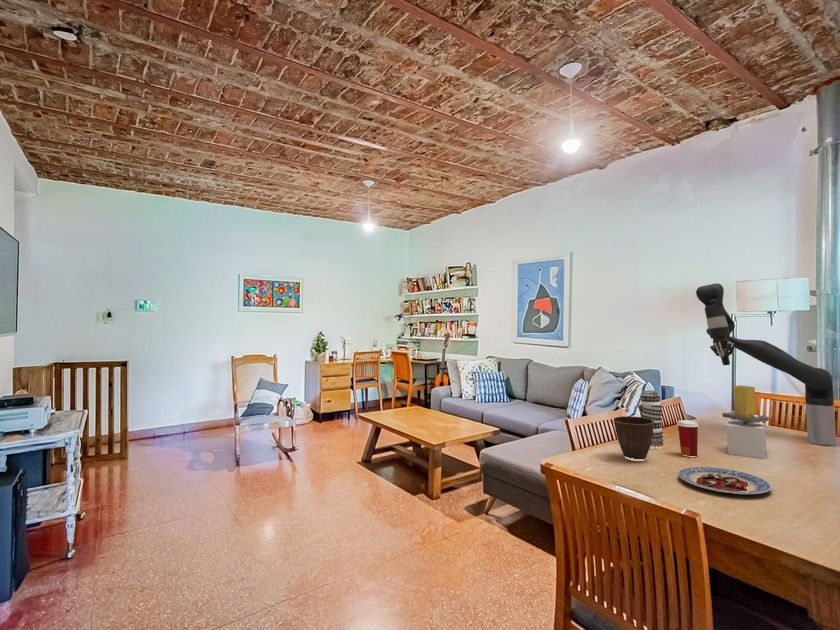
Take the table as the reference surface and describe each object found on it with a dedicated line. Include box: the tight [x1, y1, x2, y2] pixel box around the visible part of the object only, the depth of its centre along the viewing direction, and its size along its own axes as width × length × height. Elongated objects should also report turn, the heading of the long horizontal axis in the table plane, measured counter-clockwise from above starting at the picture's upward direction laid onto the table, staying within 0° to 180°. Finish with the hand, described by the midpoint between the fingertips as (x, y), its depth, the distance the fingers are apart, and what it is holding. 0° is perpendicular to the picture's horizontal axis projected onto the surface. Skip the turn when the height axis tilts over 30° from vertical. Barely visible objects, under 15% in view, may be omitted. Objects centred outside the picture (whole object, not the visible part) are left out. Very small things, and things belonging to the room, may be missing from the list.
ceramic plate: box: [677, 466, 772, 495], centre depth 145 cm, size 26×26×3 cm
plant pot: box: [613, 416, 654, 460], centre depth 176 cm, size 15×15×16 cm
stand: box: [725, 419, 767, 460], centre depth 180 cm, size 12×12×14 cm
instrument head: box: [722, 385, 770, 423], centre depth 181 cm, size 12×10×14 cm
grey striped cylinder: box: [639, 389, 664, 447], centre depth 193 cm, size 9×9×25 cm
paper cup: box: [676, 419, 699, 457], centre depth 179 cm, size 8×8×14 cm
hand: (726, 365), depth 193 cm, fingers closed
